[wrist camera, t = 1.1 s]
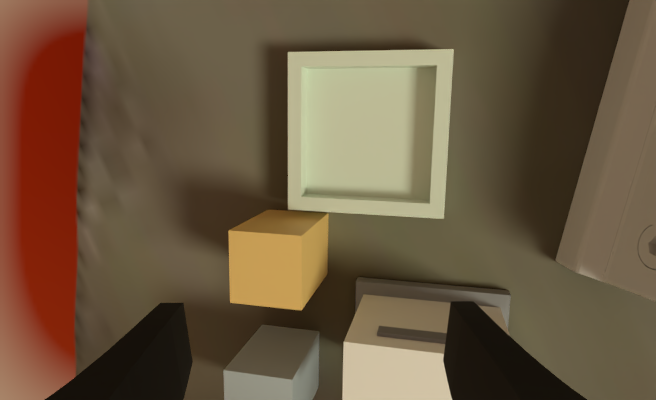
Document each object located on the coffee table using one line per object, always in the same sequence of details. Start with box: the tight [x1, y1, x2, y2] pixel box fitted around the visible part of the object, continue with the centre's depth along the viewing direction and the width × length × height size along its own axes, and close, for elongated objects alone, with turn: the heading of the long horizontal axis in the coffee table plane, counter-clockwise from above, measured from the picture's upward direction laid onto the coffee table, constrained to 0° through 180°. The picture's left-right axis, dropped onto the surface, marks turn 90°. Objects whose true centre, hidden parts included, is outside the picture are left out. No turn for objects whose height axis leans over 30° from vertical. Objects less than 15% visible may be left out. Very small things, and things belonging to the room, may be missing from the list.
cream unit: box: [342, 277, 511, 400], centre depth 26 cm, size 6×9×7 cm, turn 90°
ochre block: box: [228, 209, 328, 310], centre depth 27 cm, size 4×4×6 cm
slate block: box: [224, 325, 319, 400], centre depth 29 cm, size 4×4×6 cm
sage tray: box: [288, 49, 454, 219], centre depth 27 cm, size 9×9×2 cm
